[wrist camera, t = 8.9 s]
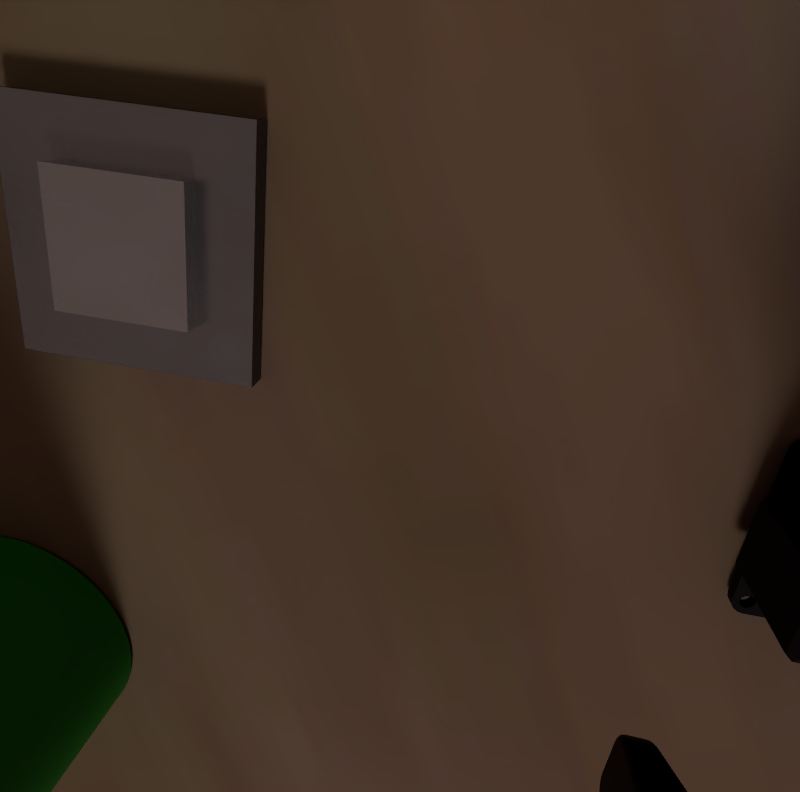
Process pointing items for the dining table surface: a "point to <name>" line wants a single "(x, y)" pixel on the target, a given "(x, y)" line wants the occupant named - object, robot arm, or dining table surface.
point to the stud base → (136, 232)
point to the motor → (52, 665)
